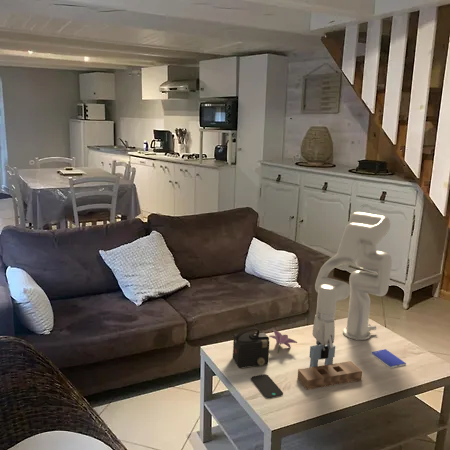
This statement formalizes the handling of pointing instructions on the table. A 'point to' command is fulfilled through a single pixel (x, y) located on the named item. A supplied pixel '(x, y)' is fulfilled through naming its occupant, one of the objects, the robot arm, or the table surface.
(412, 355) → the table surface
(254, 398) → the table surface
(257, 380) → the smartphone
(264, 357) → the camera
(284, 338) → the lily
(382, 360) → the hard drive
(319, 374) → the brown block with holes
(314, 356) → the light blue arch block
